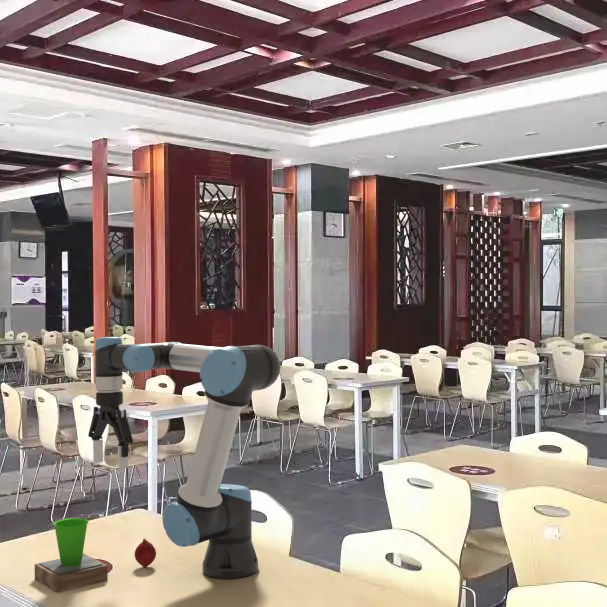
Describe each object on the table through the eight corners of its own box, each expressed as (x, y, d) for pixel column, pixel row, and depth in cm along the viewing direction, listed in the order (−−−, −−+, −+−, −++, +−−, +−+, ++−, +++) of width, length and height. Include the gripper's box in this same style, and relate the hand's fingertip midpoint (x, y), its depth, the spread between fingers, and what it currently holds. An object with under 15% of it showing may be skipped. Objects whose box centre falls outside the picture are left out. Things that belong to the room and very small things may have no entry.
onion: (160, 565, 229) (159, 536, 229) (148, 571, 224) (147, 542, 224) (143, 562, 232) (142, 534, 232) (130, 569, 226) (130, 539, 226)
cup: (79, 570, 212) (78, 527, 212) (46, 568, 214) (46, 525, 214) (94, 559, 221) (94, 518, 221) (63, 557, 223) (63, 517, 223)
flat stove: (107, 580, 217) (107, 564, 217) (57, 592, 208) (56, 575, 208) (83, 567, 228) (83, 552, 228) (34, 579, 219) (34, 563, 219)
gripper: (144, 392, 229) (145, 469, 229) (98, 387, 247) (99, 458, 247) (121, 394, 224) (122, 473, 223) (75, 389, 242) (76, 461, 241)
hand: (110, 465), depth 235 cm, fingers open, 13 cm apart
